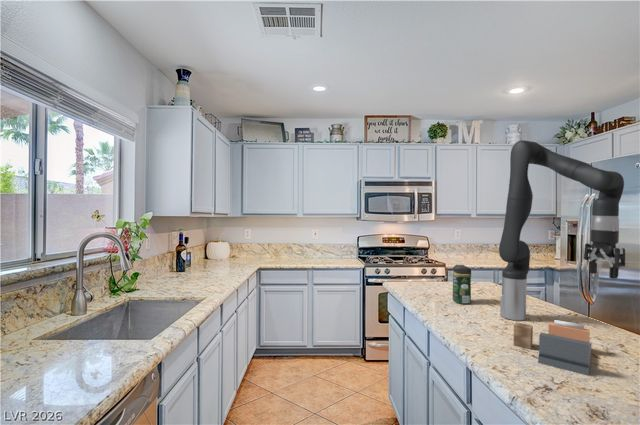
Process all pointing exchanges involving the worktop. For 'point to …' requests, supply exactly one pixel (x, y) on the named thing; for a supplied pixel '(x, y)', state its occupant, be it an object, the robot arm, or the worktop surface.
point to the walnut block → (523, 335)
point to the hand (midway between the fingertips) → (602, 275)
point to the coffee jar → (461, 284)
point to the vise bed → (564, 353)
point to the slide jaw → (569, 330)
